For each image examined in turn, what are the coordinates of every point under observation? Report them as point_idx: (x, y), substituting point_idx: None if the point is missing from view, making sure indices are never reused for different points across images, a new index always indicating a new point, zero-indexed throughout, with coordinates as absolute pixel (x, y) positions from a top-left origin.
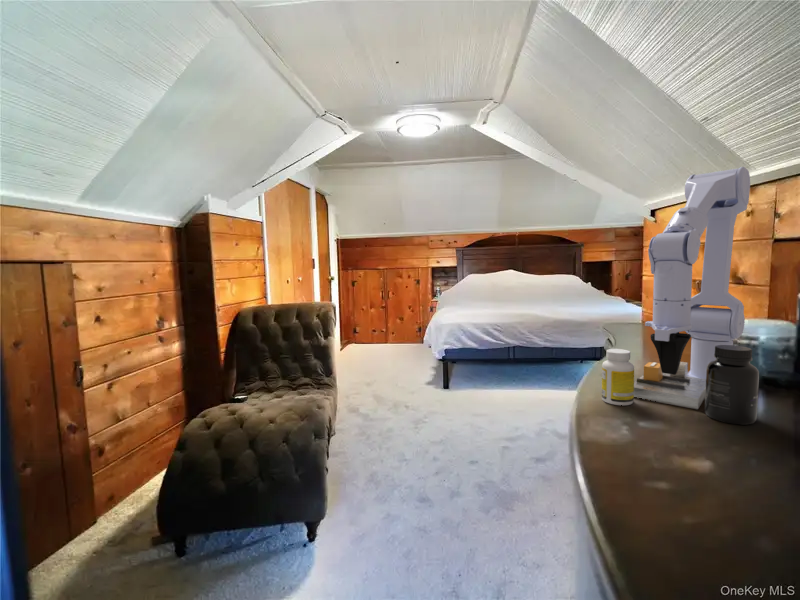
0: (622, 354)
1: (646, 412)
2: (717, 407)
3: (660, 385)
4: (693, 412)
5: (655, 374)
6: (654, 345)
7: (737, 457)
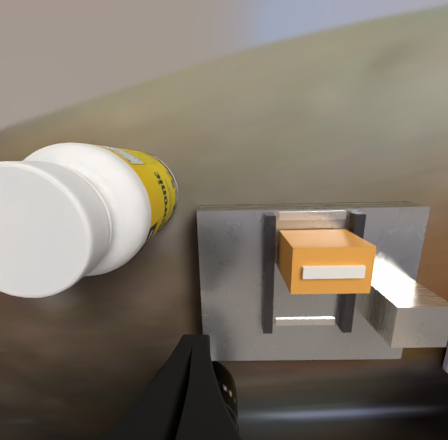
0: None
1: None
2: None
3: (262, 276)
4: None
5: (283, 274)
6: (101, 436)
7: (18, 407)
